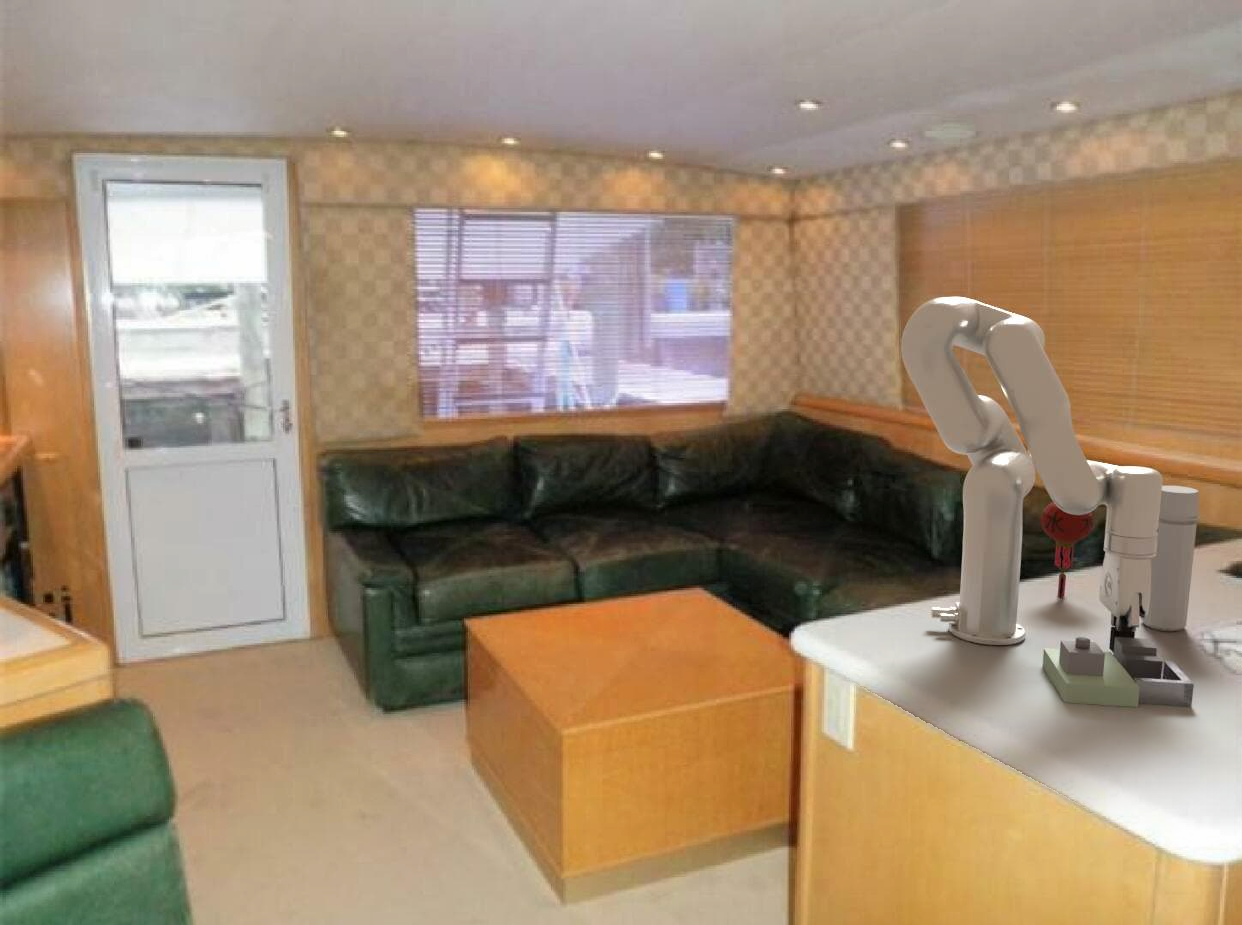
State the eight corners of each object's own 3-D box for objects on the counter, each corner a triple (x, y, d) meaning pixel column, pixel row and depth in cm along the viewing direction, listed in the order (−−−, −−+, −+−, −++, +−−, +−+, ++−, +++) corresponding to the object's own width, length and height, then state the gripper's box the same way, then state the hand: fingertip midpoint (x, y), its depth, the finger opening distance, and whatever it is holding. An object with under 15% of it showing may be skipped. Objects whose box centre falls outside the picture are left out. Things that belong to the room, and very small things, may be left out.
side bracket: (1134, 702, 145) (1136, 680, 144) (1116, 679, 153) (1118, 658, 153) (1191, 706, 144) (1193, 683, 143) (1170, 683, 152) (1172, 661, 151)
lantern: (1097, 598, 192) (1110, 446, 187) (1068, 607, 187) (1080, 451, 182) (1054, 585, 200) (1065, 439, 194) (1024, 593, 195) (1035, 444, 189)
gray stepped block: (1125, 683, 152) (1127, 652, 151) (1112, 666, 159) (1115, 636, 158) (1160, 686, 151) (1163, 655, 150) (1146, 668, 158) (1148, 638, 157)
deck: (1064, 702, 145) (1068, 652, 144) (1042, 666, 159) (1046, 620, 157) (1137, 707, 144) (1142, 656, 142) (1109, 670, 157) (1113, 623, 156)
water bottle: (1187, 636, 172) (1201, 495, 167) (1136, 628, 176) (1149, 490, 171) (1189, 620, 179) (1203, 486, 175) (1141, 613, 183) (1153, 481, 179)
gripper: (1091, 531, 167) (1083, 634, 170) (1120, 555, 152) (1110, 668, 155) (1139, 532, 165) (1130, 637, 169) (1172, 557, 151) (1162, 670, 154)
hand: (1121, 651), depth 162 cm, fingers closed
